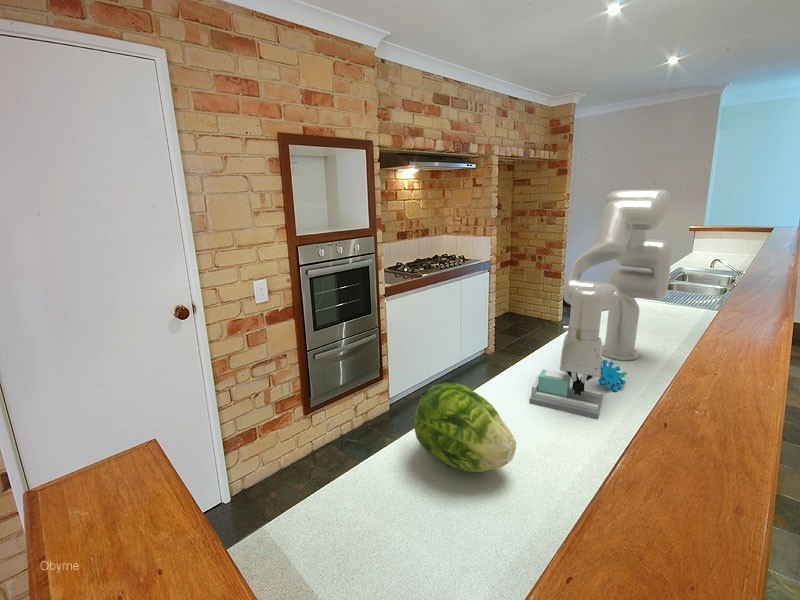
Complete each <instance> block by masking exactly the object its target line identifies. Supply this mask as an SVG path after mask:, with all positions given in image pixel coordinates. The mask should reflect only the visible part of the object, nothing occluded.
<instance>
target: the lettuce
mask: <svg viewBox="0 0 800 600" xmlns="http://www.w3.org/2000/svg"><path fill="white" fill-rule="evenodd" d="M413 420H414V421H413V428H414V433H415V437H416V439H417V441H418V442H419V444H420V445H421V447H422V448H423V449H424V450H425V451H426V452H427V453H428V454H430V455H431V456H432V457H434V458H435V459H437V460H439V461H441V462H442V463H445V464H446V465H448V466H449V467H451V468H454V469H456V470H459V471H464V472H470V473H483V472H487V471H491V470H497V469H501V468H503V467H504V466H506V465H508V464H509V463H510V462H512V460H513V458H514V456H515V453H516V449H517V442H516V440H515V438H514V435H513V434H512V432H511V430H510V429H509V427H508V426H507V425H506V424H505V422H504V421H503V419H502V417H501V416H500V414H499V412H498V411H497V409H495V407H494V406H493V405H492V404H491V403H490V402H489V401H488V400H487V399H485V398H484V397H483V396H481V395H479V394H478V393H477V392H475V391H474V390H472V389H471V388H470V387H468V386H466V385H463V384H461V383H456V382H443V383H438V384H435V385H432V386H431V387H430V388H429V389H428V390H427V391H426V392H425V394H424V395H423V396H422V397H421V399H420V401H419V403H418V405H417V407H416V410H415V413H414V418H413Z"/></svg>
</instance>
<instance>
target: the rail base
mask: <svg viewBox="0 0 800 600" xmlns="http://www.w3.org/2000/svg"><path fill="white" fill-rule="evenodd" d="M538 378H539V374H537V377H536V379H535V380H534V382H533V383H532V385H531V394H530V398H529V404H533V405H537V406H541V407H545V408H550V409H554V410H558V411H563V412H566V413H571V414H574V415H580V416H583V417H588V418H592V419H594V420H595V419H596V420H599V416H600V412H601V408H602V403H603V397H604V394H603V393H602V392H600V391H595V390H591V389H585V388H584V392H581V395H578V393H577V394H576V395H575V394H574V391H575V390H572V387H573V385H572V386H571V385H570V390H569V395H568V398H565V397H560V396H555V395H551V394H546V393H542V392H538Z"/></svg>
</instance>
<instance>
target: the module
mask: <svg viewBox="0 0 800 600" xmlns="http://www.w3.org/2000/svg"><path fill="white" fill-rule="evenodd" d="M538 375H539V378H538V392H542V393H546V394H551V395H555V396H560V397H565V398H568V395H569V390H570V386H571V379H572V378H571V377H570V376H569V375H568V374H567V373H565V372H562V371H560V372H559V371H555V370H550V369H549V370H548V369H541V371H540V372H539V374H538Z"/></svg>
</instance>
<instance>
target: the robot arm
mask: <svg viewBox="0 0 800 600" xmlns="http://www.w3.org/2000/svg"><path fill="white" fill-rule="evenodd" d="M671 202H672V199H671V194H670V193H669V191H667V190H666V189H621V190H613V191H611V192H609V193H608V194H607V196H606V198H605V207H604V209H603V211H602V215H601V217H600V221H599V225H598V228H597V232H596V235H595V239H594V243H593V244H592V247H590V248H589V249H588V250H586V251H585V252H583V253H582V254H580V256H579V257H578V258H576V259H575V261H573V263H572V265H571V266H570V268H569V270H568V273H567V276H566V280H565V283H564V286H563V291H562V293H563V294H562V296H563V299H564V301H565V303H567V304H568V305H570V315H569V324H567V325H563V331H564V332H567V333H566V335H565V337H564V340H563V343H562V347H561V348H562V349H561V355H560V356H561V357H560V363H559V364H560V366H559V371H560V372H561V373H565V374H568V375H569V376H570V377H571V378H570V379H571V381H572V390H575V391H574V394H575V395H576V394H577V393H578V395H581V392H584V389H585V385H586V382H588V381H589V380H591V379H600V378H601V363H602V364H603V362H602V360H603V356H604V357H607V358H609V359H612V360H616V361H617V360H618V361H634V360H636V359H638V358H639V355H640V353H639V352H638V351H637V350H636V349H635V348H636V347H635V346H636V341H637V333H638V326H639V318H640V306H639V304H638V303H637V302H638V301H636V299H635V298H638V299H645V300H652V301H653V300H654V301H657V300H658V301H660V300H662V299H664V298H665V297H666V295H667V293H668V288H669V284H670V283H669V282H670V272H671V265H672V253H673V252H672V245H671V244H670V242H669V241H666V240H663V239H652V238H651V239H649V238H647V231H651V230H655V229H656V228H657V227H658V226H659V225H660V224H661V223H662V221H663V220H664V218H666V216H667V214H668V213H669V211H670V207H671ZM612 260H615V261H616V263H617V264H618V265H619V266H622V267H630V268H618V269H615V270H613V271H612V272H611V273H610V275H609V278H608V283H607V282H599V281H592V280H583V279H581V277H582V276H583V274H584V273H585V272H586V271H587V270H589V269H590V268H592V267H594V266H597V265H599V264H602V263H606V262H609V261H612ZM636 268H637V269H636ZM638 268H639V269H638ZM640 268H641V269H640ZM646 269H650V270H646ZM606 311H608V313H607V323H606V332H605V340H604V341H605V342H604V344H603V345H602V343H603V342H602V338H601V337H600V330H601V329H600V328H601V320H602V312H606ZM578 374H579V375H582V376H581V377H579V375H578Z"/></svg>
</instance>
